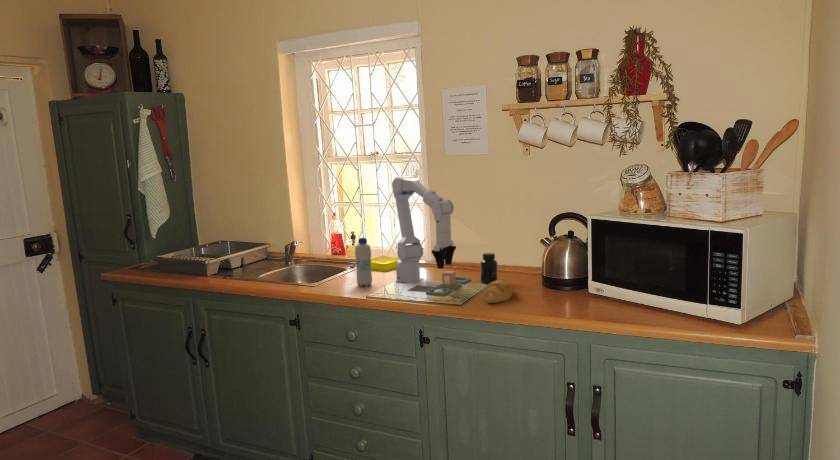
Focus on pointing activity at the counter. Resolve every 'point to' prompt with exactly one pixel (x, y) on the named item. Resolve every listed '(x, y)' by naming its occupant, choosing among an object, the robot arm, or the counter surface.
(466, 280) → the dish
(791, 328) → the counter surface
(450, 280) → the brown rectangular block
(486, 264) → the supplement bottle
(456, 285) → the dish
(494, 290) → the bread loaf
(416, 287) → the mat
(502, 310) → the counter surface
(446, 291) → the dish
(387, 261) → the yellow food container
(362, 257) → the bottle
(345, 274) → the counter surface
